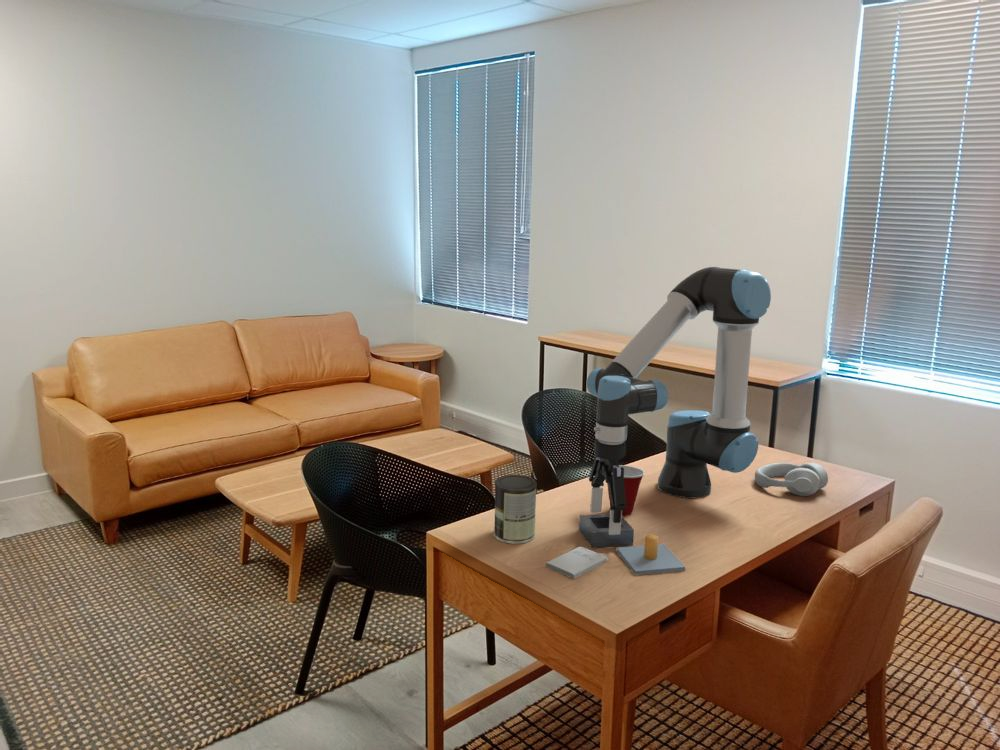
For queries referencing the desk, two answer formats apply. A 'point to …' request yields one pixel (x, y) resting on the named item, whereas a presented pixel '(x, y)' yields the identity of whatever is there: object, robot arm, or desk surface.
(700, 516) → the desk surface
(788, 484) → the headphones
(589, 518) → the gray square socket block
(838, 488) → the desk surface
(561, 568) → the external hard drive
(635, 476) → the plastic cup
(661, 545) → the keeper
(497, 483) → the coffee can
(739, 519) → the desk surface
